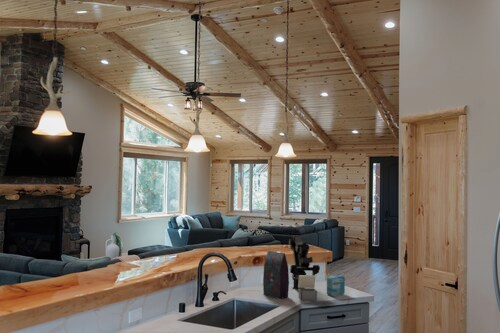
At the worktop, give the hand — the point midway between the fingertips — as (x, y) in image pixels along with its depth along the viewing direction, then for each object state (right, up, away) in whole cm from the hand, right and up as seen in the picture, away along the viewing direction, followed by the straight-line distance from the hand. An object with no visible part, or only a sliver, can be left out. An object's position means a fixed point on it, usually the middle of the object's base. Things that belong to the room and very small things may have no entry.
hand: (306, 280), depth 284 cm
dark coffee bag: (-19, -11, +4) cm, 23 cm away
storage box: (0, -11, -4) cm, 12 cm away
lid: (0, -1, -1) cm, 1 cm away
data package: (+21, -12, +10) cm, 26 cm away
